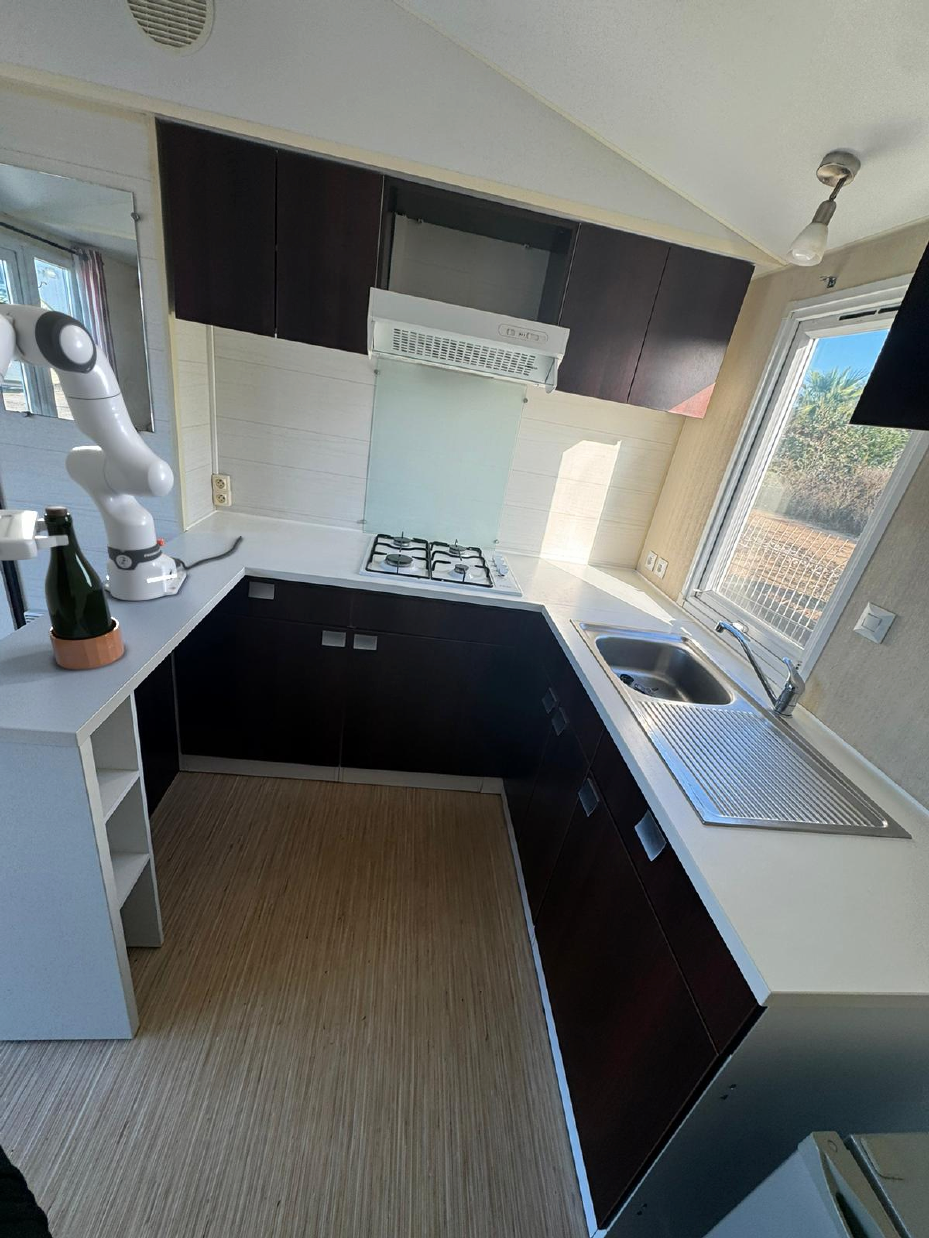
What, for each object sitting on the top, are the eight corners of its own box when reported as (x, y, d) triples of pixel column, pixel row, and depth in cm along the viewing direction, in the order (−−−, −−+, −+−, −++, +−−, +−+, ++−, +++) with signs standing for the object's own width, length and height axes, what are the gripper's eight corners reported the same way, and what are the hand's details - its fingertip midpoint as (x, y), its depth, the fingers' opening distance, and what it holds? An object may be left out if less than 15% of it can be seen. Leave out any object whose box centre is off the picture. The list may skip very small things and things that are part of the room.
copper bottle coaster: (78, 639, 113) (72, 613, 110) (134, 643, 115) (129, 617, 112) (42, 667, 103) (34, 638, 100) (105, 671, 104) (98, 643, 101)
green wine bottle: (47, 657, 105) (5, 507, 90) (93, 637, 114) (61, 497, 100) (86, 669, 103) (49, 518, 88) (129, 648, 112) (102, 507, 98)
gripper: (-43, 537, 80) (64, 532, 88) (-25, 504, 95) (65, 503, 103) (-31, 572, 83) (71, 565, 91) (-16, 535, 97) (71, 532, 105)
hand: (68, 532), depth 97 cm, fingers open, 8 cm apart
